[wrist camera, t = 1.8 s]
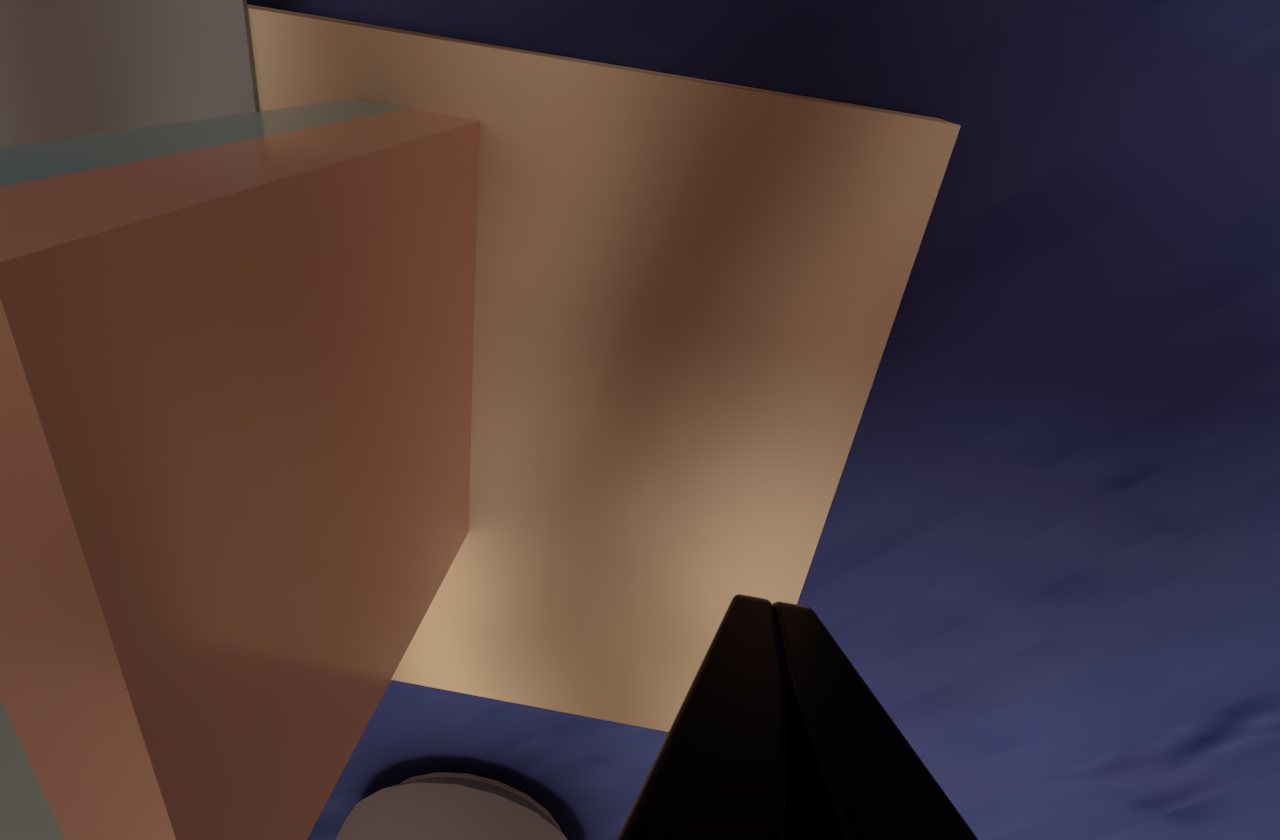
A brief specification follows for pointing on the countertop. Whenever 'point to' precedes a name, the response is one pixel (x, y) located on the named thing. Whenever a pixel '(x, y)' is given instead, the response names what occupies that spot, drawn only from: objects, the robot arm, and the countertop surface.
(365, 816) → the can
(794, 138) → the board
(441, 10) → the countertop surface
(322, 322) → the tile
